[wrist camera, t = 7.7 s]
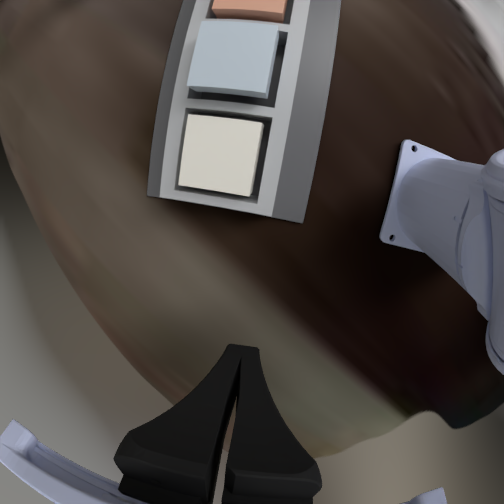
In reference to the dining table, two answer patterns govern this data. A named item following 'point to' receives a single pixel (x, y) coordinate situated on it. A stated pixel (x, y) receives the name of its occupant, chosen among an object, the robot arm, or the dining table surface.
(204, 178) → the ivory key
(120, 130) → the dining table surface
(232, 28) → the bluegrey key
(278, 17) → the terracotta key
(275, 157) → the keypad
